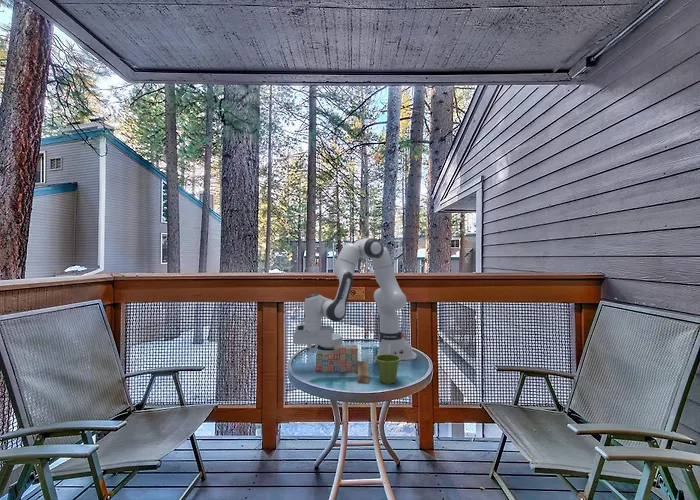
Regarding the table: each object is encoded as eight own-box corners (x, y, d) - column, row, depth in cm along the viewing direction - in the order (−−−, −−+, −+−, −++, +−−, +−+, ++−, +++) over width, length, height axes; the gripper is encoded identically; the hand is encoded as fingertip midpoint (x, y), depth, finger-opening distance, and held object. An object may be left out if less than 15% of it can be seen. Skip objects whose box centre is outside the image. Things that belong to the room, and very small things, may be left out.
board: (367, 368, 186) (367, 361, 186) (368, 384, 166) (368, 375, 166) (357, 368, 186) (357, 361, 186) (357, 384, 166) (357, 375, 166)
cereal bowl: (344, 350, 217) (344, 338, 217) (317, 351, 214) (317, 340, 214) (339, 342, 234) (339, 331, 234) (314, 344, 231) (314, 333, 230)
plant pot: (396, 376, 175) (396, 353, 174) (403, 385, 163) (403, 361, 163) (372, 377, 173) (372, 354, 173) (378, 387, 161) (378, 362, 161)
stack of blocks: (315, 372, 180) (315, 348, 180) (317, 367, 187) (316, 344, 186) (357, 372, 180) (357, 348, 180) (357, 367, 186) (357, 344, 186)
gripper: (333, 324, 186) (333, 350, 186) (294, 324, 186) (294, 350, 186) (332, 326, 179) (332, 354, 179) (292, 326, 179) (292, 354, 179)
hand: (313, 352), depth 183 cm, fingers closed
